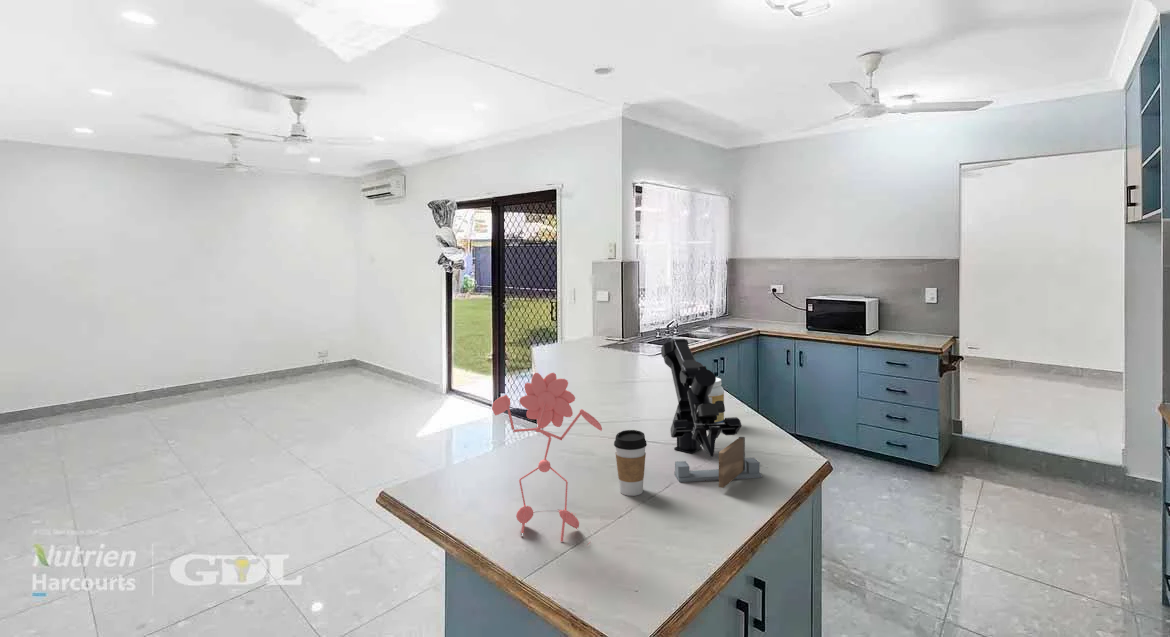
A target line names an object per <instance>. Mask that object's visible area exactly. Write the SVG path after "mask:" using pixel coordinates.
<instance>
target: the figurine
mask: <svg viewBox="0 0 1170 637" xmlns="http://www.w3.org/2000/svg"><path fill="white" fill-rule="evenodd" d="M568 386H569V381H568V380H567V379H565V378H557V375H556V373H555V372H549V373H547V375H546V376H544V377H543V376H542V375H541V374H540V373H539V372H534V374H532V378H531V383H530V382H526V383H525V384H524V391H525V393H526V395H524V396H521V397H520V398H519V404H520V405H521V406H522V407H523V408H525V409H527V410H526V414H525V415H526V418H527V419H529V420H536V424H537V427H532V428H531V427H530V428H519V429H518V428H517V429H515V426H514V421H513V418H512V413H511V409H510V406H511V399H510V397H509V396H508V395H507V394H505V395H502V396H499V397H498V398H496V399H495V400H494V401H493V403H492V407H491V410H492V412H493V414H494V416H498V415H501V414H503V413H505V412H506V411H507V414H508V418H509V422H510V426H511V430H512V432H513V433H517V432H530V431H531V432H532V431H535V432H536V433H541V434H542V435H544V436H545V437H546V438H548V440H547V445H546V449H545V453H544V454H545V455H544V458H543V459H542V460H540V461H539V462H538V465H537V467H536V468H535V469H533V470H531V471H530V472H528V473H526V474H525V475H524V476H522V477H520V478H519V480H518V481H519V486H520V488H519V489H520V491H521V498H522V502H523V506H521V507H520V508H519V509H518V510H517V511H516V520H517V522H519V523H520V524H521V523H522V524H521V525H522V526H521V532H520V534H521V533H524V534H525V527H526V524H527V523H529V521H530V520H532V518H533V516H534V512H533V511H534V509H533V507H532V506H530V505H526V500H525V496H524V490H523V486H522V480H523V479H525V478H527V477H528V476H530V475H532V474H533V473H534V472H536V471H540V472H541V473H547V472H549V471H550V470H551V471H553V473H555V474H556V475H557V476H558V477H559V478H560V479H562V480H563V481H564V482H565V494H564V495H565V496H564V498H565V499H564V509H559V510H558V513H559V517H560V518H561V520H562V523H561V524H562V525H561V533H560V542H563V541H564V536H565V535H564V534H565V526H566V525H565V524H567V525H569V526H570V527H572V528H574V529H576V530H578V529H577V528H579V527H580V521H579V519H578V518H577V517H576V515H575V514H573V512H571V511H569V510H567V508H568V507H567V505H568V483H569V482H568V480H567V479H565V478H564V477H563V476H562V475H561V474H560V473H558V471H557V470H555V469H554V468H553V467H552V466H551V462H550V461H549V460H547V457H548V456H547V455H548V453H549V449H550V445H551V441H552V437H553V438H554V439H557V440H559V441H563V440H564V438H565V436H566V435H567V434H568V433H569V431H570V430H571V429H572V427H573V426H574V425H575V423H576V422H577V421H578V419H579V418H580V417H582V418H584V420H585V421H586V422H587V423H589V424H590V425H591V426H593V427H594V428H596V429H597V430H599V431H600V432H602V430H603V427H602V424H601V423H600V422H599V420H597V419H596V418H595V417H594V416H593V415H591V414H590V413H589V412H587V411H586V410H584V409H582V408H581V409H579V412H578V414H577V415H576V416H575V417H574V419H573V420H572V422H570V424H569V426H568V427H567V429H566V430H565V431H564V432H563V434H562V435H561V436H558V435H557V434H553V433H552V432H549V431H546V430H543V429H545V428H546V427H548V426H549V425H550V423H552V425H553V426H554V427H556V428H560V427H562V426H563V422H564V417H565V418H571V417H572V416H573V414H574V413H573V409H572V407H571V405H570V404H571V403H573V402H575V401H576V396H575V394H573V393H572V391H569V390H567V388H568ZM570 512H571V513H570ZM525 523H526V524H525ZM589 544H590V542H588V543H587V544H586V546H588V545H589Z"/></svg>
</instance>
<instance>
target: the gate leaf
mask: <svg viewBox="0 0 1170 637" xmlns="http://www.w3.org/2000/svg"><path fill="white" fill-rule="evenodd" d="M745 458H746V437H745V436H739V437H738V438H736V439H735V440H734V441H733V442H731V443H730V444H728V445H726V446H725V447H724V448H722V449H721V450H720V451H718V469H719V480H718V488H722V489H724V488H726V486H728V485H729V484H730V483H731V482H732V481H733V480H735V479H734V478H736V477H737V476H738V475H739V474H740V473H741V472H742V471H744V470H745Z"/></svg>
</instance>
